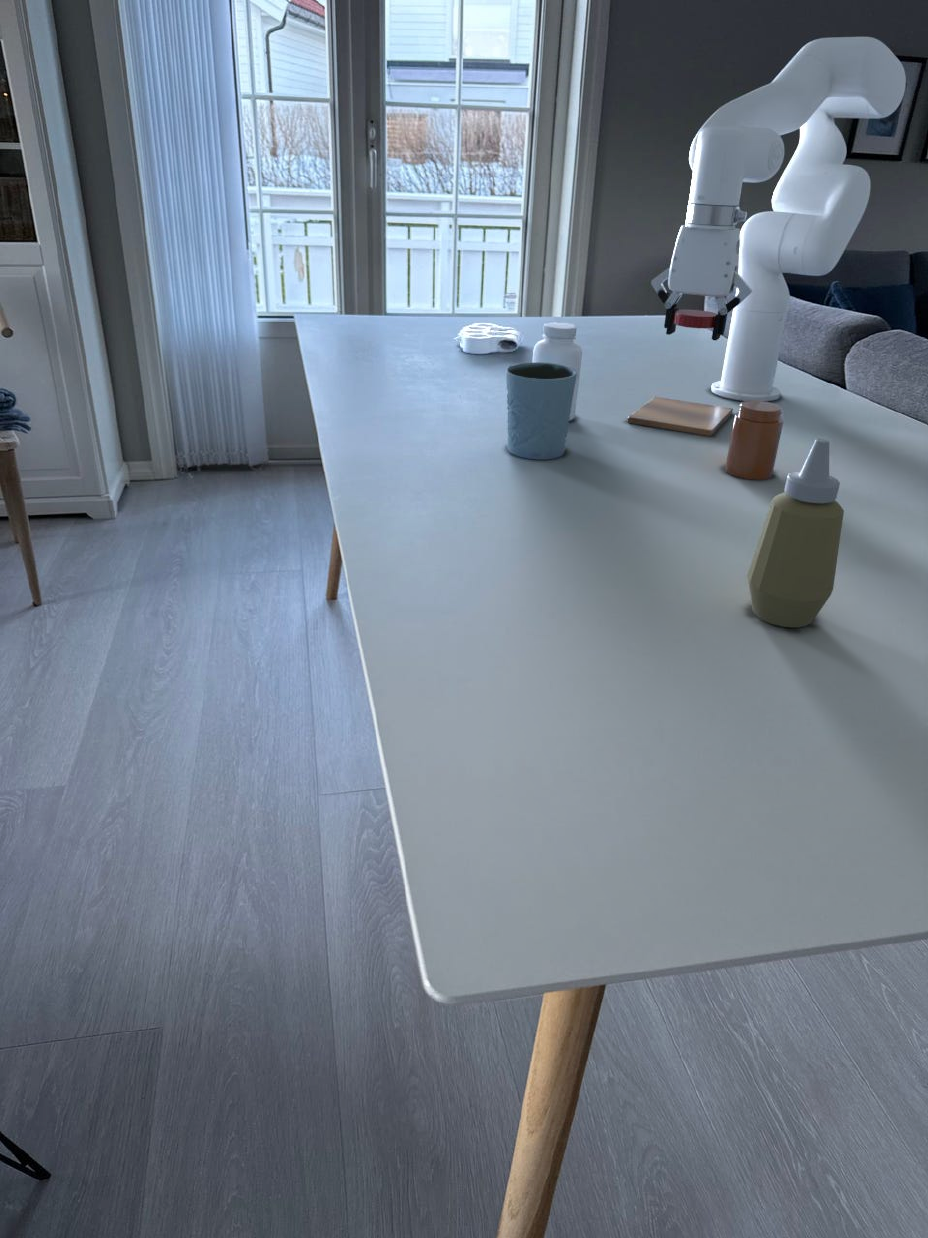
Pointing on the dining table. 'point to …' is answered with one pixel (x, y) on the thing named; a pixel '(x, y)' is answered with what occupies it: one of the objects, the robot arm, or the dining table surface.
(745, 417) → the jam jar
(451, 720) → the dining table surface
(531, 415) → the blue embossed cup
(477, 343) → the white flat molded block
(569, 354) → the pill bottle
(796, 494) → the squeeze bottle
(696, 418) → the wooden board
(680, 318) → the jam lid
